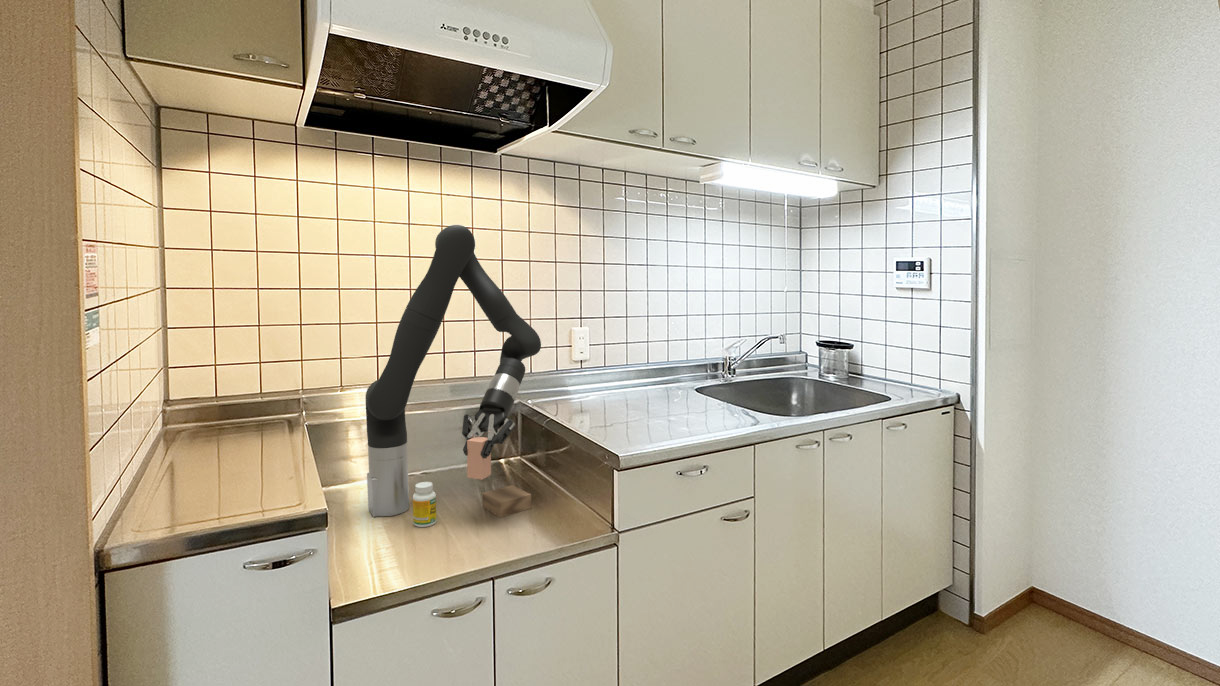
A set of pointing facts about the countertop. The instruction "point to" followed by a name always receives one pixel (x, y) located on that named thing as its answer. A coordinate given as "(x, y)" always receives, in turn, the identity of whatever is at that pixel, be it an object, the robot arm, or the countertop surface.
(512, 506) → the walnut block
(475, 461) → the salmon pink block
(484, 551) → the countertop surface
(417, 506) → the supplement bottle
